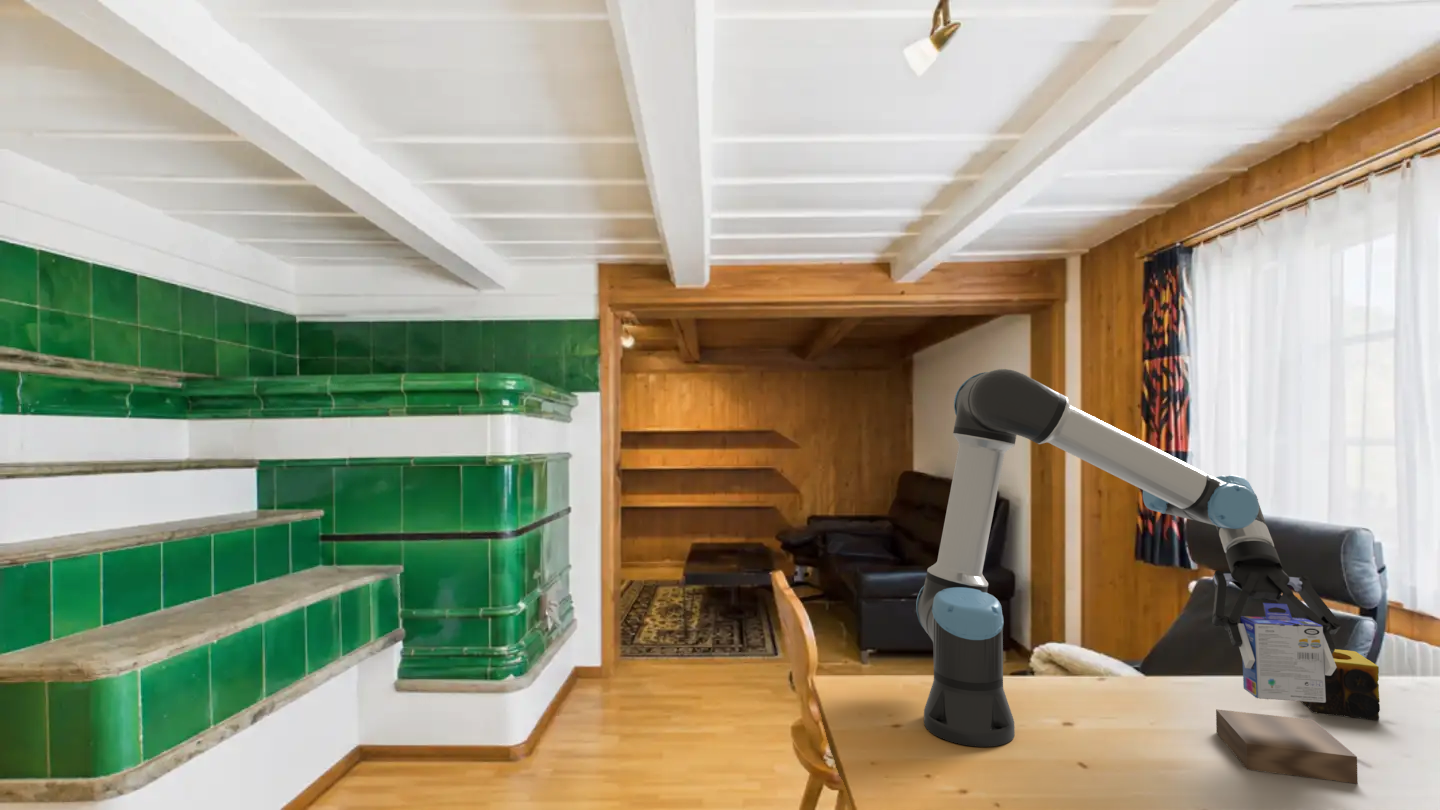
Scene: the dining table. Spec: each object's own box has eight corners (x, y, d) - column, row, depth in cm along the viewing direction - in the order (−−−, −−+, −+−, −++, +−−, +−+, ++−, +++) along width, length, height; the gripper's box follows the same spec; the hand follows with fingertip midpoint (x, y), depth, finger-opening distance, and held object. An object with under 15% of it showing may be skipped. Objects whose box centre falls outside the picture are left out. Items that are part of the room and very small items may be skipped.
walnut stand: (1246, 769, 111) (1246, 743, 111) (1216, 732, 125) (1216, 709, 125) (1357, 783, 107) (1357, 756, 107) (1313, 743, 120) (1313, 719, 120)
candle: (1312, 713, 133) (1311, 659, 133) (1292, 694, 142) (1291, 644, 142) (1382, 722, 129) (1380, 666, 129) (1356, 702, 138) (1355, 650, 139)
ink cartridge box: (1307, 691, 118) (1305, 602, 118) (1328, 704, 112) (1326, 611, 113) (1239, 687, 120) (1237, 600, 120) (1257, 699, 114) (1255, 608, 115)
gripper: (1319, 566, 127) (1369, 686, 112) (1173, 559, 135) (1202, 671, 119) (1333, 541, 122) (1387, 663, 107) (1181, 535, 130) (1212, 649, 114)
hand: (1290, 667), depth 113 cm, fingers closed on ink cartridge box, 10 cm apart
